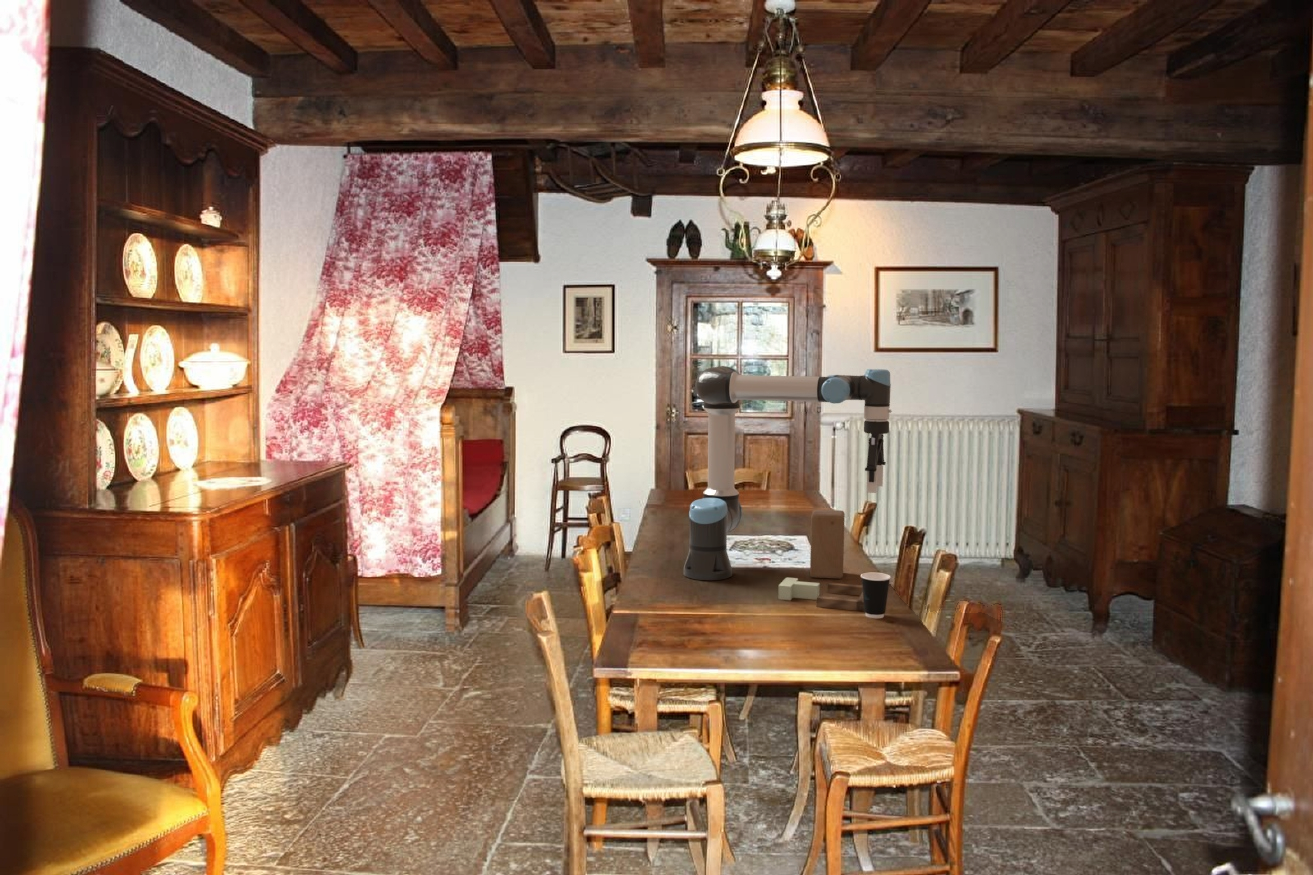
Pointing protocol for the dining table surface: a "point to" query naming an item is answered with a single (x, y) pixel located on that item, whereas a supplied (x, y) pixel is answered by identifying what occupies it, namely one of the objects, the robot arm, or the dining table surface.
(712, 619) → the dining table surface
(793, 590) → the t block
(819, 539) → the wooden block
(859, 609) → the brown stepped flat base
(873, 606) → the dixie cup
